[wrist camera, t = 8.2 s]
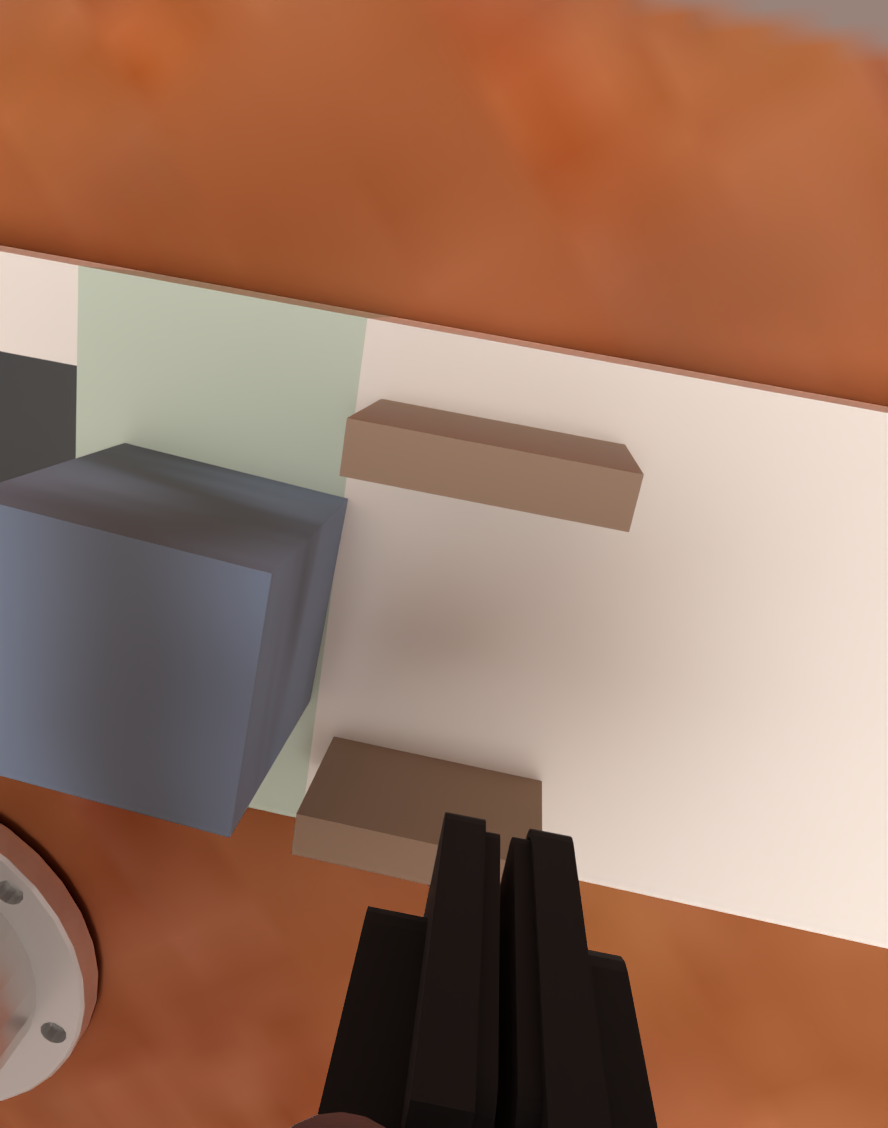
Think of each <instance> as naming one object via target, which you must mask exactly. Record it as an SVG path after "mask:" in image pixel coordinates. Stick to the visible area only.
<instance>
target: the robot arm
mask: <svg viewBox="0 0 888 1128" xmlns="http://www.w3.org/2000/svg"><path fill="white" fill-rule="evenodd" d="M97 986H98V968H97V963H96V957H95V951H94V945H93V942H92V939H91V937H90V934H89V932H88V929H87V926H86V924H85V921H84V919H83V916H82V914H81V912H80V910H79V908H78V907H77V905H76V903H75V902H74V900H73V899H72V897H71V895H70V894H69V892H68V890H67V889H66V887H65V886H64V884H63V882H62V881H61V880H60V879H59V878H58V876H57V875H56V874H55V873H54V872H53V871H52V869H51V868H50V867H49V866H48V865H47V864H46V862H45V861H44V860H43V859H42V858H41V857H40V855H39V854H38V853H37V852H35V851H34V850H33V849H32V848H31V847H30V846H28V845H27V844H26V843H25V842H24V841H23V840H22V839H20V838H19V837H18V836H17V835H16V834H15V833H13V832H12V831H11V830H10V829H9V828H7V827H5V826H4V825H2V824H1V823H0V1101H2V1100H6V1099H9V1098H11V1097H14V1096H17V1095H19V1094H22V1093H25V1092H27V1091H30V1090H32V1089H33V1088H35V1087H36V1086H38V1085H39V1084H41V1083H42V1082H44V1081H45V1080H47V1079H48V1078H50V1077H51V1076H53V1074H54V1073H55V1072H56V1071H57V1070H58V1069H59V1068H60V1067H61V1065H62V1064H63V1063H64V1062H65V1061H66V1060H67V1059H68V1057H69V1056H70V1054H71V1053H72V1051H73V1050H74V1048H75V1046H76V1045H77V1043H78V1041H79V1040H80V1038H81V1036H82V1035H83V1033H84V1032H85V1030H86V1028H87V1027H88V1025H89V1022H90V1019H91V1016H92V1013H93V1010H94V1007H95V1004H96V1001H97ZM291 1128H657V1122H656V1117H655V1112H654V1107H653V1101H652V1096H651V1091H650V1086H649V1081H648V1075H647V1070H646V1065H645V1060H644V1055H643V1049H642V1044H641V1039H640V1034H639V1028H638V1023H637V1018H636V1013H635V1008H634V1002H633V997H632V992H631V987H630V981H629V976H628V972H627V968H626V965H625V961H624V960H623V959H622V957H621V956H616V955H611V954H606V953H601V952H596V951H591V950H588V948H587V940H586V933H585V925H584V918H583V910H582V903H581V895H580V888H579V881H578V873H577V866H576V858H575V851H574V843H573V839H572V837H571V836H567V835H562V834H557V833H551V832H546V831H541V830H536V829H531V828H530V829H529V831H528V833H527V836H526V839H522V838H517V837H512V838H511V841H510V845H509V849H508V853H507V857H506V862H505V866H504V870H503V874H502V879H501V883H500V834H496V833H491V832H486V820H485V819H480V818H475V817H469V816H464V815H459V814H454V813H449V812H445V815H444V819H443V824H442V829H441V834H440V839H439V844H438V849H437V854H436V859H435V864H434V869H433V873H432V878H431V883H430V888H429V893H428V898H427V903H426V908H425V913H424V917H419V916H414V915H409V914H404V913H399V912H394V911H389V910H384V909H379V908H374V907H369V906H368V909H367V912H366V916H365V920H364V924H363V928H362V932H361V936H360V941H359V945H358V949H357V953H356V957H355V961H354V966H353V970H352V974H351V978H350V982H349V986H348V991H347V995H346V999H345V1003H344V1007H343V1011H342V1016H341V1020H340V1024H339V1028H338V1032H337V1036H336V1041H335V1045H334V1049H333V1053H332V1057H331V1062H330V1066H329V1070H328V1074H327V1078H326V1082H325V1087H324V1091H323V1095H322V1099H321V1103H320V1107H319V1112H318V1115H315V1116H313V1117H311V1118H308V1119H306V1120H304V1121H302V1122H299V1123H297V1124H295V1125H293V1126H292V1127H291Z"/></svg>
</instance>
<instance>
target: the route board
mask: <svg viewBox="0 0 888 1128" xmlns="http://www.w3.org/2000/svg"><path fill="white" fill-rule="evenodd" d="M122 443H128V444H131V445H135V446H140V447H144V448H148V449H151V450H156V451H160V452H164V453H168V454H172V455H176V456H180V457H184V458H188V459H192V460H196V461H200V462H204V463H208V464H212V465H216V466H220V467H224V468H228V469H232V470H236V471H240V472H244V473H248V474H252V475H256V476H260V477H264V478H268V479H272V480H276V481H280V482H284V483H288V484H292V485H296V486H300V487H304V488H308V489H312V490H316V491H320V492H324V493H328V494H332V495H336V496H340V497H344V498H348V503H347V508H346V513H345V518H344V524H343V529H342V534H341V540H340V545H339V550H338V556H337V561H336V566H335V572H334V577H333V582H332V588H331V593H330V598H329V603H328V609H327V614H326V619H325V625H324V630H323V635H322V641H321V646H320V651H319V657H318V662H317V667H316V673H315V678H314V683H313V688H312V694H311V699H310V702H309V704H308V705H307V707H306V709H305V711H304V712H303V714H302V716H301V717H300V719H299V721H298V722H297V724H296V726H295V728H294V729H293V731H292V733H291V734H290V736H289V738H288V739H287V741H286V743H285V745H284V746H283V748H282V750H281V751H280V753H279V755H278V756H277V758H276V760H275V762H274V763H273V765H272V767H271V768H270V770H269V772H268V773H267V775H266V777H265V779H264V780H263V782H262V784H261V785H260V787H259V789H258V790H257V792H256V794H255V796H254V797H253V799H252V801H251V802H250V804H249V806H248V807H250V808H255V809H259V810H264V811H268V812H273V813H277V814H282V815H286V816H291V817H295V818H296V820H295V828H294V836H293V844H292V851H291V854H293V855H297V856H302V857H306V858H311V859H315V860H320V861H324V862H328V863H333V864H337V865H342V866H346V867H351V868H355V869H360V870H364V871H369V872H373V873H378V874H382V875H386V876H391V877H395V878H400V879H404V880H409V881H413V882H418V883H422V884H427V885H430V883H431V878H432V873H433V869H434V864H435V859H436V854H437V849H438V844H439V839H440V834H441V829H442V824H443V819H444V815H445V812H449V813H454V814H459V815H464V816H469V817H475V818H480V819H485V820H486V832H491V833H496V834H500V883H501V879H502V874H503V870H504V866H505V862H506V857H507V853H508V849H509V845H510V841H511V838H512V837H517V838H522V839H526V836H527V833H528V831H529V829H530V828H531V829H536V830H541V831H546V832H551V833H557V834H562V835H567V836H571V837H572V839H573V843H574V851H575V858H576V866H577V873H578V880H580V881H585V882H589V883H594V884H598V885H603V886H607V887H612V888H616V889H621V890H625V891H630V892H634V893H639V894H644V895H648V896H653V897H657V898H662V899H666V900H671V901H675V902H680V903H684V904H689V905H693V906H698V907H702V908H707V909H711V910H716V911H720V912H725V913H729V914H734V915H738V916H743V917H748V918H752V919H757V920H761V921H766V922H770V923H775V924H779V925H784V926H788V927H793V928H797V929H802V930H806V931H811V932H815V933H820V934H824V935H829V936H833V937H838V938H842V939H847V940H852V941H856V942H861V943H865V944H870V945H874V946H879V947H883V948H888V407H887V406H881V405H876V404H870V403H865V402H859V401H854V400H848V399H843V398H837V397H832V396H826V395H821V394H815V393H810V392H804V391H799V390H793V389H788V388H782V387H777V386H771V385H766V384H760V383H755V382H749V381H744V380H738V379H733V378H727V377H722V376H716V375H711V374H705V373H700V372H694V371H689V370H683V369H678V368H672V367H667V366H661V365H656V364H650V363H645V362H639V361H634V360H628V359H623V358H617V357H612V356H606V355H601V354H595V353H590V352H584V351H579V350H573V349H568V348H562V347H557V346H551V345H546V344H540V343H535V342H530V341H524V340H519V339H513V338H508V337H502V336H497V335H491V334H486V333H480V332H475V331H469V330H464V329H458V328H453V327H447V326H442V325H436V324H431V323H425V322H420V321H414V320H409V319H403V318H398V317H392V316H387V315H381V314H376V313H370V312H365V311H359V310H354V309H348V308H343V307H337V306H332V305H326V304H321V303H315V302H310V301H304V300H299V299H293V298H288V297H282V296H277V295H271V294H266V293H260V292H255V291H249V290H244V289H238V288H233V287H227V286H222V285H216V284H211V283H205V282H200V281H194V280H189V279H183V278H178V277H172V276H167V275H161V274H156V273H150V272H145V271H139V270H134V269H128V268H123V267H117V266H112V265H106V264H101V263H95V262H90V261H84V260H79V259H73V258H68V257H62V256H57V255H51V254H46V253H40V252H35V251H29V250H24V249H18V248H13V247H7V246H2V245H0V483H1V482H4V481H7V480H10V479H13V478H16V477H19V476H22V475H26V474H29V473H32V472H35V471H38V470H41V469H44V468H47V467H51V466H54V465H57V464H60V463H63V462H66V461H69V460H72V459H76V458H79V457H82V456H85V455H88V454H91V453H94V452H97V451H101V450H104V449H107V448H110V447H113V446H116V445H119V444H122Z"/></svg>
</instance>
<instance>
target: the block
mask: <svg viewBox="0 0 888 1128" xmlns="http://www.w3.org/2000/svg"><path fill="white" fill-rule="evenodd" d="M347 503H348V498H344V497H340V496H336V495H332V494H328V493H324V492H320V491H316V490H312V489H308V488H304V487H300V486H296V485H292V484H288V483H284V482H280V481H276V480H272V479H268V478H264V477H260V476H256V475H252V474H248V473H244V472H240V471H236V470H232V469H228V468H224V467H220V466H216V465H212V464H208V463H204V462H200V461H196V460H192V459H188V458H184V457H180V456H176V455H172V454H168V453H164V452H160V451H156V450H151V449H148V448H144V447H140V446H135V445H131V444H128V443H122V444H119V445H116V446H113V447H110V448H107V449H104V450H101V451H97V452H94V453H91V454H88V455H85V456H82V457H79V458H76V459H72V460H69V461H66V462H63V463H60V464H57V465H54V466H51V467H47V468H44V469H41V470H38V471H35V472H32V473H29V474H26V475H22V476H19V477H16V478H13V479H10V480H7V481H4V482H1V483H0V776H3V777H7V778H11V779H14V780H18V781H22V782H25V783H29V784H33V785H36V786H40V787H44V788H48V789H51V790H55V791H59V792H62V793H66V794H70V795H74V796H77V797H81V798H85V799H88V800H92V801H96V802H100V803H103V804H107V805H111V806H114V807H118V808H122V809H125V810H129V811H133V812H137V813H140V814H144V815H148V816H151V817H155V818H159V819H163V820H166V821H170V822H174V823H177V824H181V825H185V826H188V827H192V828H196V829H200V830H203V831H207V832H211V833H214V834H218V835H222V836H226V837H229V838H230V836H231V835H232V833H233V831H234V830H235V828H236V826H237V824H238V823H239V821H240V819H241V818H242V816H243V814H244V813H245V811H246V809H247V807H248V806H249V804H250V802H251V801H252V799H253V797H254V796H255V794H256V792H257V790H258V789H259V787H260V785H261V784H262V782H263V780H264V779H265V777H266V775H267V773H268V772H269V770H270V768H271V767H272V765H273V763H274V762H275V760H276V758H277V756H278V755H279V753H280V751H281V750H282V748H283V746H284V745H285V743H286V741H287V739H288V738H289V736H290V734H291V733H292V731H293V729H294V728H295V726H296V724H297V722H298V721H299V719H300V717H301V716H302V714H303V712H304V711H305V709H306V707H307V705H308V704H309V702H310V699H311V694H312V688H313V683H314V678H315V673H316V667H317V662H318V657H319V651H320V646H321V641H322V635H323V630H324V625H325V619H326V614H327V609H328V603H329V598H330V593H331V588H332V582H333V577H334V572H335V566H336V561H337V556H338V550H339V545H340V540H341V534H342V529H343V524H344V518H345V513H346V508H347Z"/></svg>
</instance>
